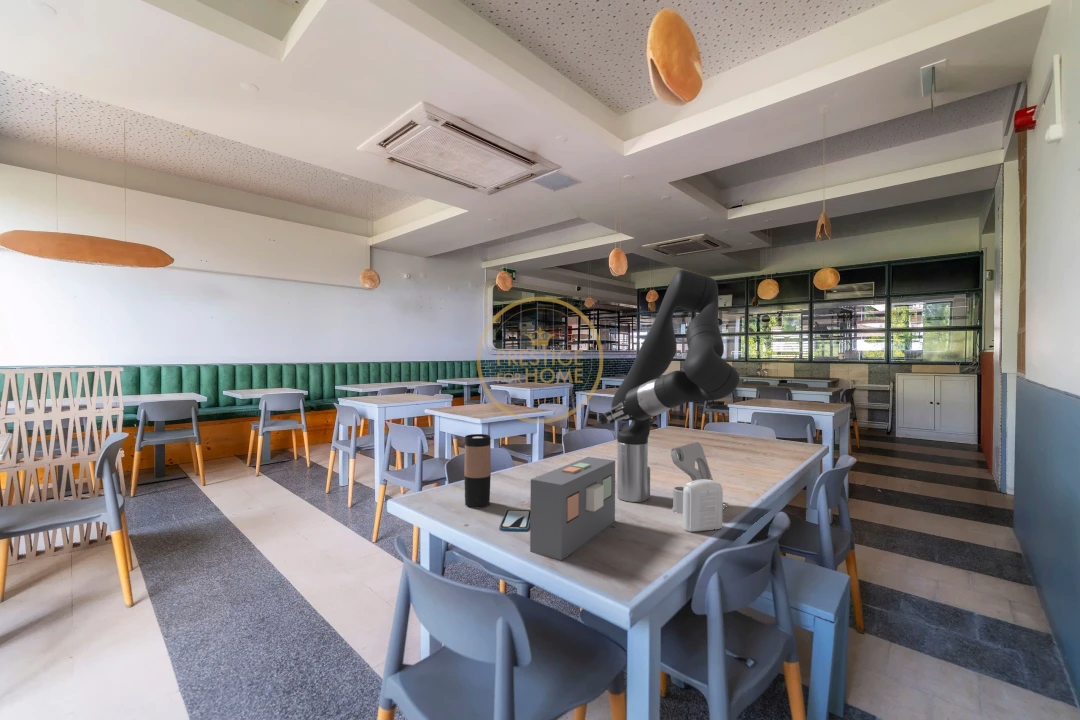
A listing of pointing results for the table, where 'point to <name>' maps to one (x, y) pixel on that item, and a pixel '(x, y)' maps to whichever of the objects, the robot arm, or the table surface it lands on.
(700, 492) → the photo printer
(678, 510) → the phone holder
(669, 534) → the table surface
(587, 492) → the white key
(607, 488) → the sage key
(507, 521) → the smartphone
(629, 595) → the table surface
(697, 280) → the robot arm
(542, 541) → the keypad console
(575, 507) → the terracotta key
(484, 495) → the travel mug
